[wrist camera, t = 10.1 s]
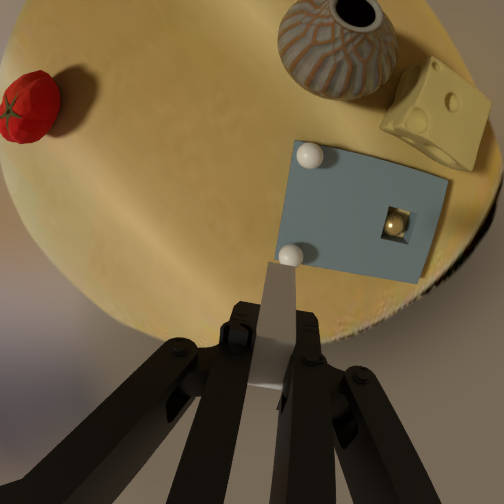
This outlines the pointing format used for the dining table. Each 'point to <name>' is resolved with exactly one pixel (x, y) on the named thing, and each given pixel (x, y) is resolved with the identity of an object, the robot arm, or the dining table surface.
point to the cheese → (438, 114)
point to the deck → (360, 214)
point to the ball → (393, 224)
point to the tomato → (29, 108)
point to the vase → (338, 47)
